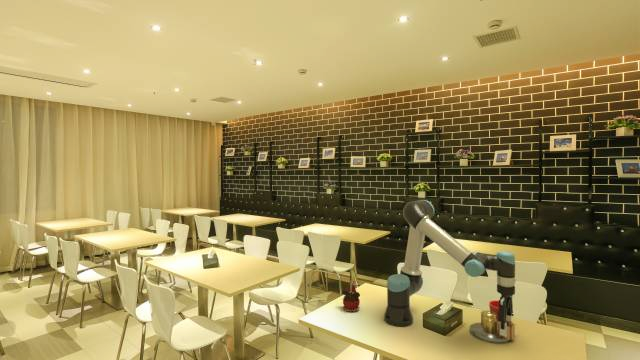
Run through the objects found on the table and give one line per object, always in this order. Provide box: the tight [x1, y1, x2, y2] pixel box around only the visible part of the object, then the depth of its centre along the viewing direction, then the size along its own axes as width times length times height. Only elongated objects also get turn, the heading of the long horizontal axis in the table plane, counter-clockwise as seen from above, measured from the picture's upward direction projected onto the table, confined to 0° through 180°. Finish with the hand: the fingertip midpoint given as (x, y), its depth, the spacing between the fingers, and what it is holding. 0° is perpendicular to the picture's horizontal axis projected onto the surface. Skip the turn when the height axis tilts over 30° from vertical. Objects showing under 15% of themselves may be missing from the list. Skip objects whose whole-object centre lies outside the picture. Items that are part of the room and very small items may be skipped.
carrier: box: [469, 309, 512, 344], centre depth 163 cm, size 18×20×8 cm
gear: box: [497, 321, 516, 340], centre depth 157 cm, size 7×7×6 cm
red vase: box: [342, 278, 361, 312], centre depth 193 cm, size 11×9×18 cm
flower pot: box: [488, 300, 499, 322], centre depth 174 cm, size 11×11×10 cm
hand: (505, 332), depth 157 cm, fingers open, 8 cm apart
